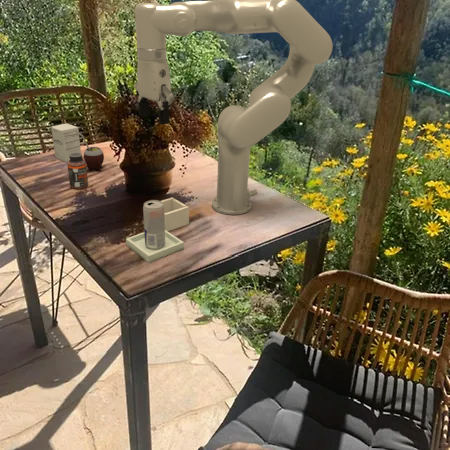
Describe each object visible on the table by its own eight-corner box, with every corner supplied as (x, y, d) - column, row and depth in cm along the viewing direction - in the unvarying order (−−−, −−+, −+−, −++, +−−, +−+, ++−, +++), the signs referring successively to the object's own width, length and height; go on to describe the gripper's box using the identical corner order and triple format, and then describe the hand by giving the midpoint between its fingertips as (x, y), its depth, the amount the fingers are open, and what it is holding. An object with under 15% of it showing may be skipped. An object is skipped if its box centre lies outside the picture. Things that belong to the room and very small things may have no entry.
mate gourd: (108, 169, 168) (105, 130, 161) (90, 175, 163) (86, 134, 156) (96, 164, 172) (92, 126, 165) (78, 170, 167) (73, 130, 160)
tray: (160, 232, 128) (160, 226, 127) (183, 248, 121) (183, 242, 120) (126, 245, 121) (125, 238, 120) (148, 262, 114) (148, 256, 113)
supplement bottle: (81, 191, 151) (77, 158, 145) (66, 188, 152) (61, 156, 147) (91, 184, 156) (88, 153, 150) (77, 182, 157) (73, 150, 152)
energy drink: (155, 237, 124) (154, 197, 118) (169, 244, 121) (168, 204, 115) (140, 245, 120) (138, 204, 115) (154, 252, 117) (153, 210, 112)
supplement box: (55, 158, 177) (50, 126, 171) (71, 153, 182) (67, 122, 176) (65, 162, 173) (61, 130, 167) (82, 158, 178) (78, 126, 172)
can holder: (172, 213, 138) (172, 197, 136) (188, 223, 133) (188, 207, 130) (149, 221, 134) (149, 204, 131) (165, 232, 128) (165, 214, 126)
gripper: (183, 58, 115) (183, 124, 124) (146, 50, 127) (148, 111, 135) (158, 60, 111) (160, 129, 119) (122, 51, 122) (126, 114, 130)
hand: (154, 119), depth 127 cm, fingers open, 9 cm apart
